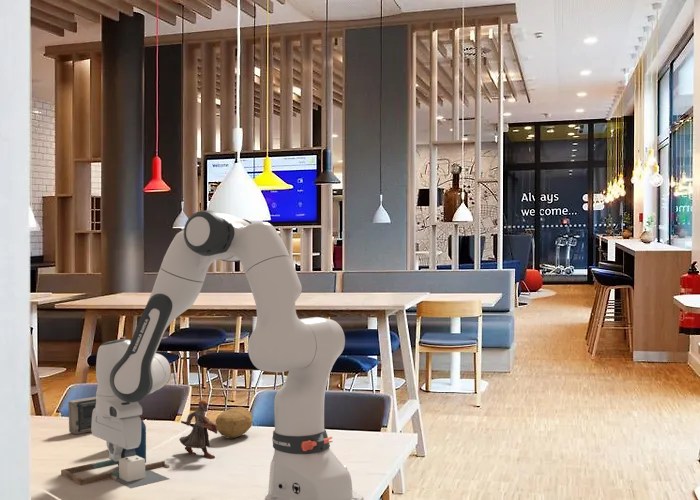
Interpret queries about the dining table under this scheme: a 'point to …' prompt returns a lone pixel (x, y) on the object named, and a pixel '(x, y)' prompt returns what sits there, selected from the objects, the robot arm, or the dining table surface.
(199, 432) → the figurine
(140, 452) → the soda can
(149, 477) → the mat
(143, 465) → the die
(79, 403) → the camera
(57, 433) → the dining table surface
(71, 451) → the dining table surface
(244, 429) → the potato
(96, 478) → the track
